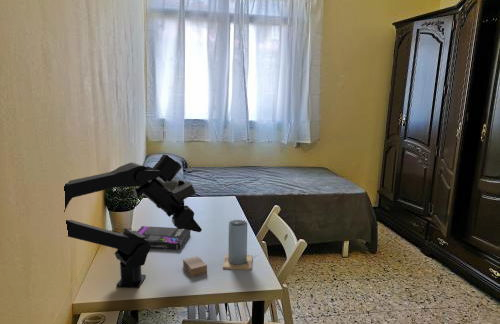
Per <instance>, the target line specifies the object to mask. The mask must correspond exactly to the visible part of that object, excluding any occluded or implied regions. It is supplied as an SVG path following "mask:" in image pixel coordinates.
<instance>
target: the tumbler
mask: <svg viewBox="0 0 500 324" xmlns="http://www.w3.org/2000/svg"><path fill="white" fill-rule="evenodd" d="M227 249H228V253H227V255H228V262H229V263H230V264H232V265H243V264H245V263H246V262H247V255H248V221H246V220H243V219H233V220H230V221H229V222H228V248H227Z"/></svg>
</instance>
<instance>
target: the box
mask: <svg viewBox="0 0 500 324" xmlns="http://www.w3.org/2000/svg"><path fill="white" fill-rule="evenodd" d="M136 231H137V232H139V233H140V234H142V235H143V236H144V237H146V238H145V239H146V240H147V241H149V243H150V250H151V249H152V250H165V249H167V250H166V251H168V250H169V251H170V250H171V251H182V249H183V247H184V246H185V244H186V243H187V241H188V240H189V238H190V237H191V230H186V229H178V228H177V227H164V226H162V227H161V226H146V225H145V226H140V228H138V230H136Z"/></svg>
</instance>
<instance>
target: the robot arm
mask: <svg viewBox="0 0 500 324" xmlns="http://www.w3.org/2000/svg"><path fill="white" fill-rule="evenodd" d="M182 167H183V166H182V165H181V164H180V163H179V162H178V161H177V160H175V159H173V158H172V157H170V156H169V155H168V154H165V153H164V154H162V155H161V157H160V158H159V160H158V161H157V162H156V164H155V165H154V166H152V167H151V166H148V165H147V166H145V165H142V164H139V163H136V162H128V163H125V164H123V165H121V166H119V167H117V168H115V169H114V170H111V171H108V172H104V173H100V174H95V175H91V176H86V177H82V178H75V179H71V180H68V181H69V182H68V183H66V184H65V186H64V191H65V210H64V213H65V212H66V210H67V208H68V205H69V203H70V202H71V200H72V199H73V198H77V197H82V196H85V195H90V194H93V193H94V194H95V193H97V192H102V191H107V190H109V189H114V188H120V187H121V188H133V196H134V198H137V199H138V198H140V197H141V196H142V195H144V197H146V198H147V199H149V201H150V202H152V203H153V204H154V205H155V206H156V208H158V209H160V210H162V211H163V212H164V213H165V214H166V215H167V216H168V217H169V218H170V217H171V216H172V217H171V222H172V224H173V226H174V228H178V229H186V230H190V232H191V231H192V232H195V233H201V232H202V231H203V229H202V228H201V226H200V225H199V223H198V222H197V221H196V220H195V217H194V216H195V212H194V211H193V210H192V208H190V207H189V206H188V205H185V200H186V199H188V198H189V197H191V196H195V195H196V193H197V192H196V189H195V187H194V186H193V184H192V182H190V181H187V180H186V181H183V180H182V179H180V180H177V181H176V186H175V188H174V189H171V188H170V187H167V186H166V185H164V184H166V183H171V182H172V181H173V180H174V178H175V177H176V176H177V174H178V173H179V172H180V171H181V170H182ZM66 224H67V230H68V237H69V238H73V239H77V240H80V241H84V242H89V243H91V244H97V245H100V246H103V247H104V246H105V247H108V248H112V249H116V251H115V252H114V256H115V258H116V259H117V260H118V261H119V269H120V271H119V272H120V279H119V281H118V282H117V283H116V287H118V288H140V286H141V285H142V283H143V282H144V280H145V278H146V274H143V273H142V266H144V265H145V263H146V261H147V257H148V254H149V253H150V251H151V249H150V243H149V241H147V240H146V239H145V238H146V237H144V236H143V235H142V234H140V233H139V232H137V231H138V230H130V229H128V228H126V227H125V228H124V229H123V231H122V232H116V231H112V230H110V229H105V228H101V227H98V226H95V225H92V224H87V223H83V222H80V221H78V220H77V221H76V220H73V219H70V220H66Z"/></svg>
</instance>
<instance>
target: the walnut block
mask: <svg viewBox="0 0 500 324" xmlns="http://www.w3.org/2000/svg"><path fill="white" fill-rule="evenodd" d="M182 267H183V269H184V270H185V272H186V273H187V274H188V276H190V278H194V277H199V276H203V275H206V274H208V265H207V264H206V262H204V261H203V260H202V259H201V257H199V256H197V255H196V256H193V257H189V258H185V259H182Z"/></svg>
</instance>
